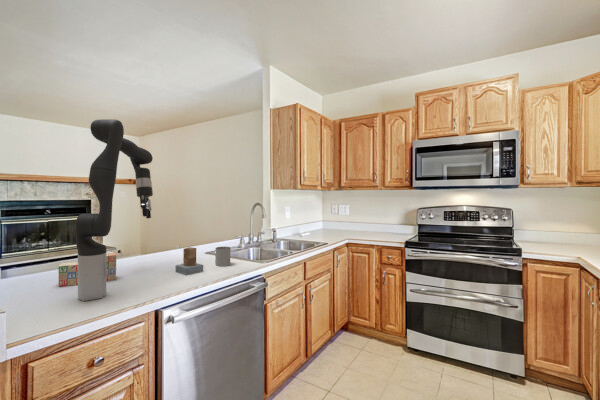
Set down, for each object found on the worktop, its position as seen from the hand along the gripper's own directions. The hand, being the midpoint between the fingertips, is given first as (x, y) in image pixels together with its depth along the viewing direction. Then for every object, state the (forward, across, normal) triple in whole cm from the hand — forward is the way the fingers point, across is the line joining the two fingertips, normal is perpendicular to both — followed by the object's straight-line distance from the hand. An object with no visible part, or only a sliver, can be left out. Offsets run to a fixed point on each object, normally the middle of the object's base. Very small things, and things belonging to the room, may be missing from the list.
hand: (147, 217), depth 153 cm
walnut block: (+28, -1, -18) cm, 34 cm away
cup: (+32, +11, -35) cm, 49 cm away
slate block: (+32, 0, -18) cm, 37 cm away
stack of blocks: (+28, -7, +26) cm, 38 cm away
